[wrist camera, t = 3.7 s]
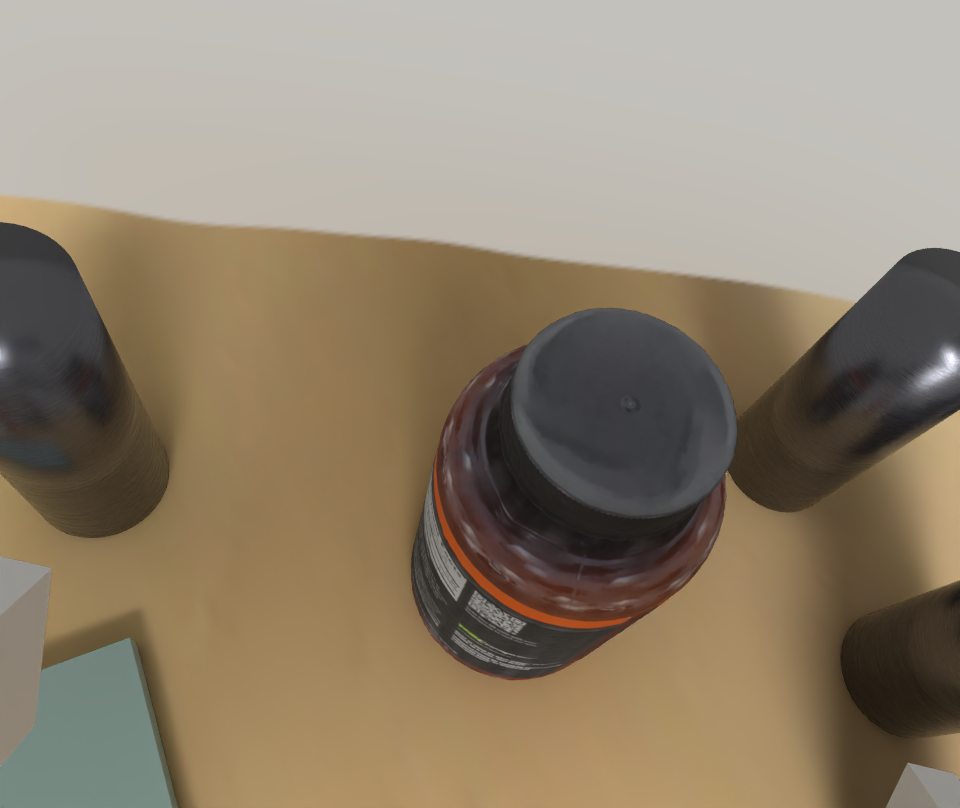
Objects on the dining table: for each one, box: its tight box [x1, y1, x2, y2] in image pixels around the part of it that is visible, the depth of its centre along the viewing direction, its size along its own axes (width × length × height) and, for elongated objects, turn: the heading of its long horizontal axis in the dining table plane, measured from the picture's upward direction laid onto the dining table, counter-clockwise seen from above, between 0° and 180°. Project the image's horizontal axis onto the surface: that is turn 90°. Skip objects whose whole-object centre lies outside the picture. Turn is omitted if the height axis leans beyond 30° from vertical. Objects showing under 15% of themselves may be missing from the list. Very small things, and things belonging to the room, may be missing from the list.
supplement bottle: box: [411, 308, 737, 680], centre depth 18 cm, size 6×6×11 cm
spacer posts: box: [0, 222, 960, 738], centre depth 19 cm, size 23×22×9 cm
